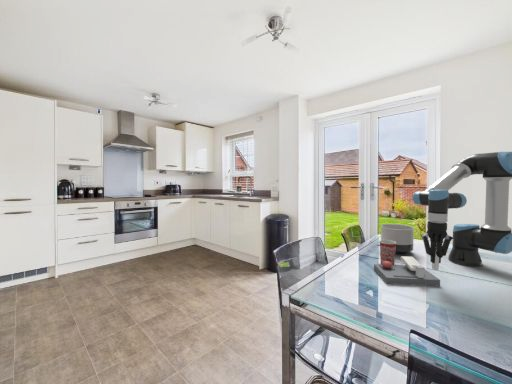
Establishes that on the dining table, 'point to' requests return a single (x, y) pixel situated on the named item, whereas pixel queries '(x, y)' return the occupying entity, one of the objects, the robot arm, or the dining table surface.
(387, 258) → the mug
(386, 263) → the button
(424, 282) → the panel
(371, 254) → the dining table surface
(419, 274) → the slider
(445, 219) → the robot arm
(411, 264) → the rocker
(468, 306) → the dining table surface
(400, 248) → the planter
